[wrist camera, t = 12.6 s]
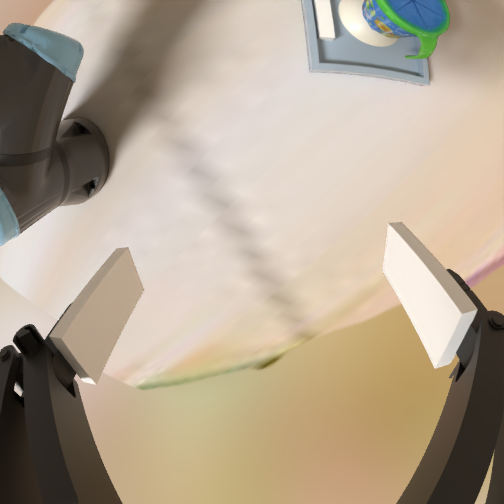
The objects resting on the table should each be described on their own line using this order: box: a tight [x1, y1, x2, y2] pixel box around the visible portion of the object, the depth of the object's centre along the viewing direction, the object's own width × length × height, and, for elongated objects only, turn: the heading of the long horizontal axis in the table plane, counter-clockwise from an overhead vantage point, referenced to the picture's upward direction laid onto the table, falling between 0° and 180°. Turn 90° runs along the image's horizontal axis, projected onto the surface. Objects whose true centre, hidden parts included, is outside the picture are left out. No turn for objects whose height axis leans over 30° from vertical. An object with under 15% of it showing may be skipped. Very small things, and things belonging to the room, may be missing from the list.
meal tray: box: [301, 0, 430, 86], centre depth 24 cm, size 18×20×3 cm
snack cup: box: [362, 0, 450, 59], centre depth 19 cm, size 16×10×10 cm
